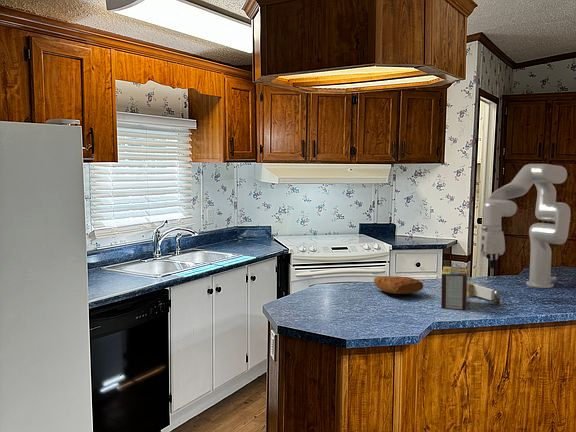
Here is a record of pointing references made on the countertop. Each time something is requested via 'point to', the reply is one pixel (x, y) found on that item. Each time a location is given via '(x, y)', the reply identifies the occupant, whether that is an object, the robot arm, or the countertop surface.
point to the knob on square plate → (497, 299)
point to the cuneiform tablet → (398, 284)
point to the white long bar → (483, 292)
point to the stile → (469, 290)
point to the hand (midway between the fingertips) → (492, 267)
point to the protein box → (454, 288)
